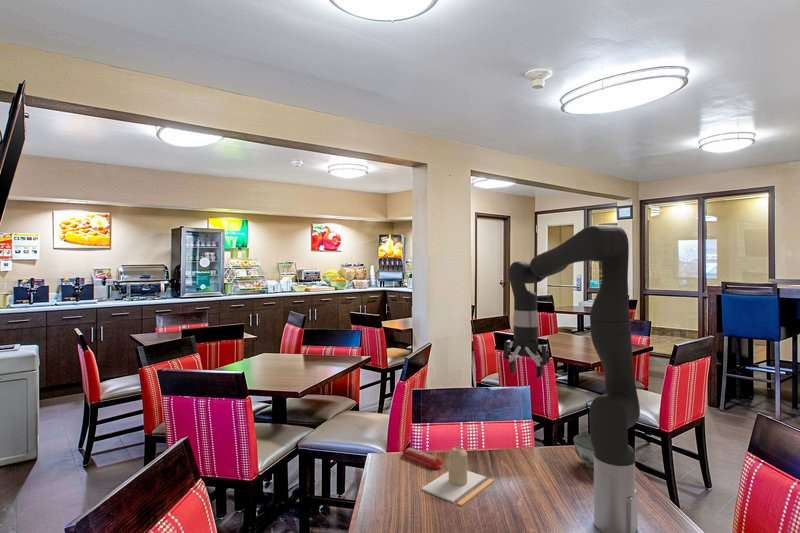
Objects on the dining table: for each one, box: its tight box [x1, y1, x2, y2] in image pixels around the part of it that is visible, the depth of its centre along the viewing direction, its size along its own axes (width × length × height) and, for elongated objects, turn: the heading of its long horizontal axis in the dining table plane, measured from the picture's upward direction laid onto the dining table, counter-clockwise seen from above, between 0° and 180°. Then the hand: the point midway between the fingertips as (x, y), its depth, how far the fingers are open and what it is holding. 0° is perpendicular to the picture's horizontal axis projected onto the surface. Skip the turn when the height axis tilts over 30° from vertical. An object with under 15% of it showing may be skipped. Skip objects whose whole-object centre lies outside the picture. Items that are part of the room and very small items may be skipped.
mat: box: [421, 470, 487, 504], centre depth 133 cm, size 11×18×1 cm, turn 140°
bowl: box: [573, 433, 594, 471], centre depth 144 cm, size 14×13×8 cm
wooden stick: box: [456, 478, 495, 507], centre depth 128 cm, size 2×18×1 cm, turn 140°
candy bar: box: [401, 446, 443, 470], centre depth 149 cm, size 16×4×3 cm, turn 46°
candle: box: [448, 446, 468, 486], centre depth 134 cm, size 6×6×10 cm
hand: (525, 375), depth 142 cm, fingers open, 8 cm apart
